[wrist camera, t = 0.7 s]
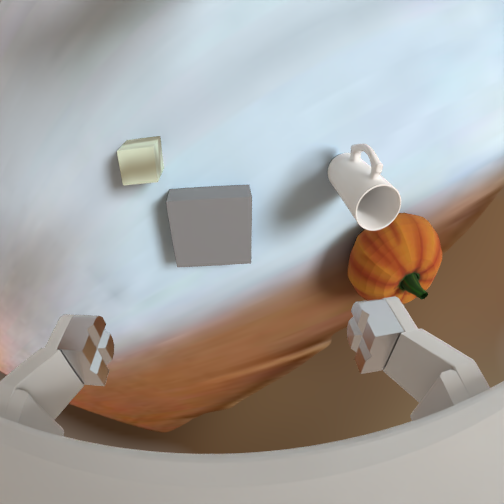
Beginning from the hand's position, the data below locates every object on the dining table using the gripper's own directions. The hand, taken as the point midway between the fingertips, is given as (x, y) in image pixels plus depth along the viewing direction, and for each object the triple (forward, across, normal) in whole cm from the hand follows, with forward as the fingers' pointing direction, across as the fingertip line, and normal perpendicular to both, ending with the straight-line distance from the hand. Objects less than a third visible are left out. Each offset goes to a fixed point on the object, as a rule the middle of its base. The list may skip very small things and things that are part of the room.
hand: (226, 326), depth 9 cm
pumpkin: (+39, -29, +22) cm, 53 cm away
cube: (+35, +12, +2) cm, 37 cm away
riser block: (+37, +3, +14) cm, 39 cm away
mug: (+36, -18, +4) cm, 41 cm away
